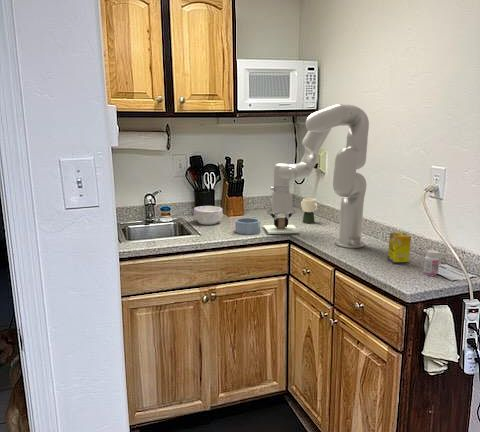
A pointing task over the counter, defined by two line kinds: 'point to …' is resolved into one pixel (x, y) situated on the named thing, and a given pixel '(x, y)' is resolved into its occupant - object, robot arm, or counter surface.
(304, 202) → the character mug
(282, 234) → the mat
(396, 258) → the supplement box
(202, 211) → the pale pink bowl
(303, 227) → the counter surface
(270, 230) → the lid
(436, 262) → the pill bottle
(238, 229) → the bowl
